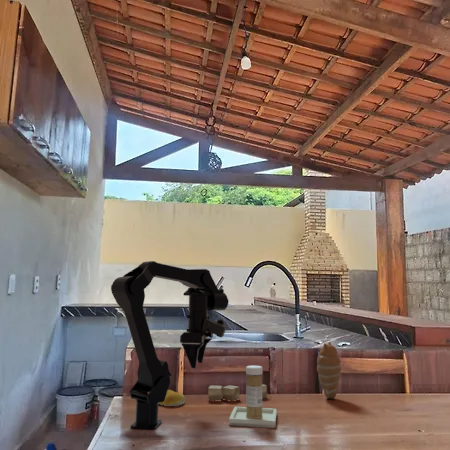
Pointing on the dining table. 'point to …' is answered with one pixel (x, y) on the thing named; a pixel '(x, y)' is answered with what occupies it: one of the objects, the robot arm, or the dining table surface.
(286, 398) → the dining table surface
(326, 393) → the croissant
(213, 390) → the oak cube
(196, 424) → the dining table surface
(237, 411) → the tray
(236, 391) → the oak cube
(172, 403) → the bread roll
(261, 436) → the dining table surface
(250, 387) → the sprinkles bottle
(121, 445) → the dining table surface
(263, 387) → the oak cube
